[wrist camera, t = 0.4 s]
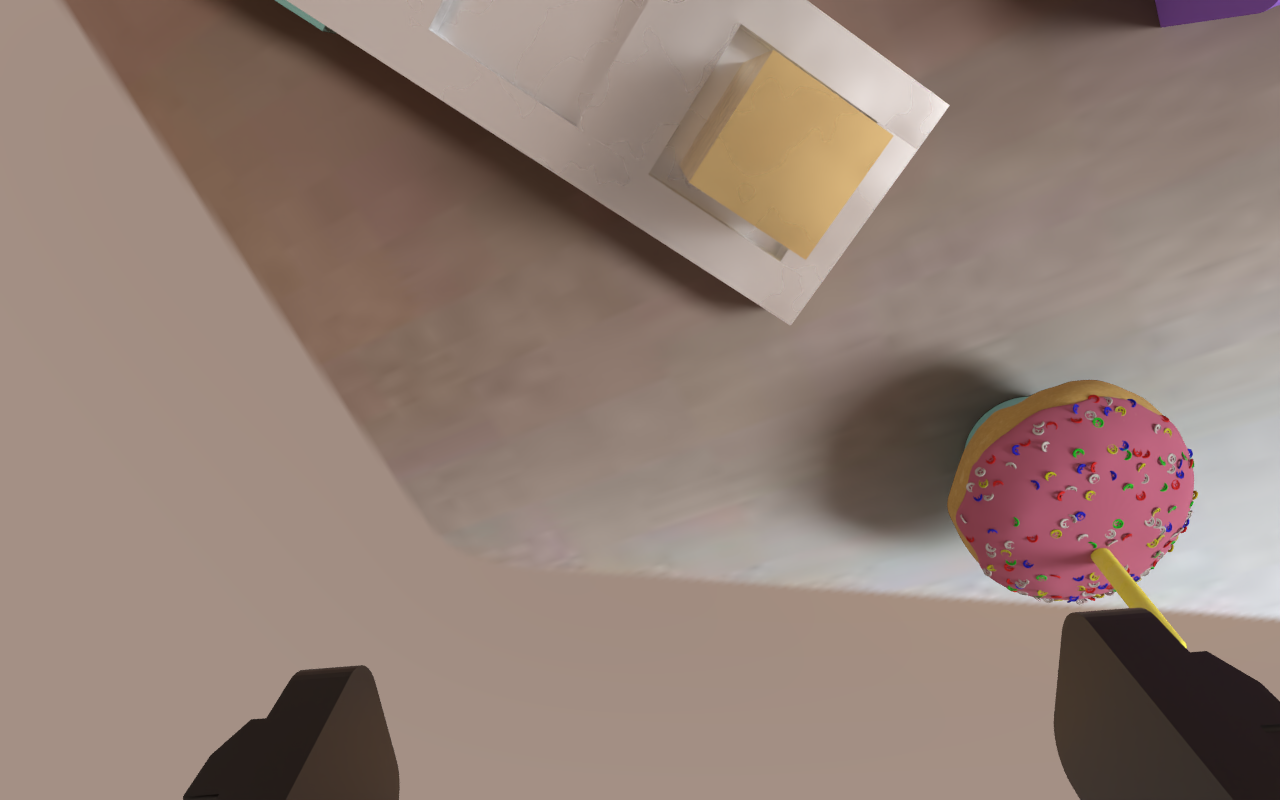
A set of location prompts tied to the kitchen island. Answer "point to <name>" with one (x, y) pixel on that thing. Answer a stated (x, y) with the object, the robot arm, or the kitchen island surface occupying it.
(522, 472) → the kitchen island surface
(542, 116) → the white compartment tray
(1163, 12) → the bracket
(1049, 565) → the cupcake
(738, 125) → the brass block
